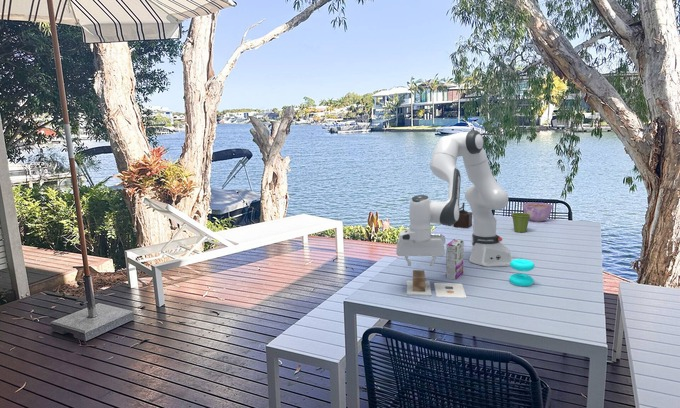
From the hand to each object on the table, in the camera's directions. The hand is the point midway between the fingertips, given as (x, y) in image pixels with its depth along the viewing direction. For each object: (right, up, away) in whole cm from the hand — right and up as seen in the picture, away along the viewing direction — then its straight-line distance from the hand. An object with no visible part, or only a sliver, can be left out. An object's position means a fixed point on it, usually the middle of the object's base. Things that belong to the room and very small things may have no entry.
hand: (420, 265), depth 188 cm
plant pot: (+83, +8, +99) cm, 129 cm away
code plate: (+12, -11, 0) cm, 16 cm away
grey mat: (0, -11, +2) cm, 11 cm away
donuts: (+46, -9, +7) cm, 47 cm away
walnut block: (0, -10, +2) cm, 10 cm away
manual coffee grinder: (+49, +10, +115) cm, 125 cm away
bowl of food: (+107, +14, +129) cm, 169 cm away
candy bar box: (+19, -8, +18) cm, 27 cm away
